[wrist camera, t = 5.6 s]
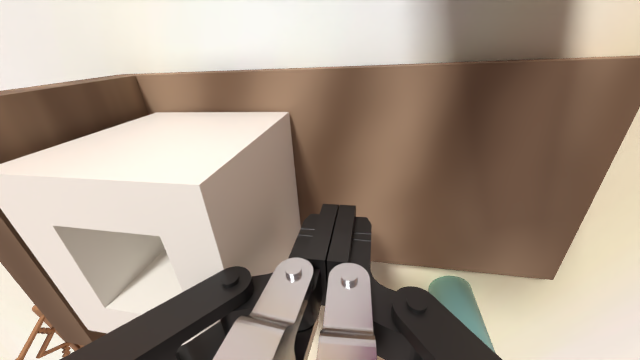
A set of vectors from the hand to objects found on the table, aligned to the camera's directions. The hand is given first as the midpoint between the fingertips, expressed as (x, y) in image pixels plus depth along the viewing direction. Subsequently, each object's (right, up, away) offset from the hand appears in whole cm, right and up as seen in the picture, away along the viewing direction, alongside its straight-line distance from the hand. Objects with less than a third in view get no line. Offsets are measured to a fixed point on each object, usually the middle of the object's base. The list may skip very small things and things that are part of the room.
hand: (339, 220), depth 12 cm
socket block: (-6, +2, +4) cm, 8 cm away
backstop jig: (0, +2, +4) cm, 5 cm away
